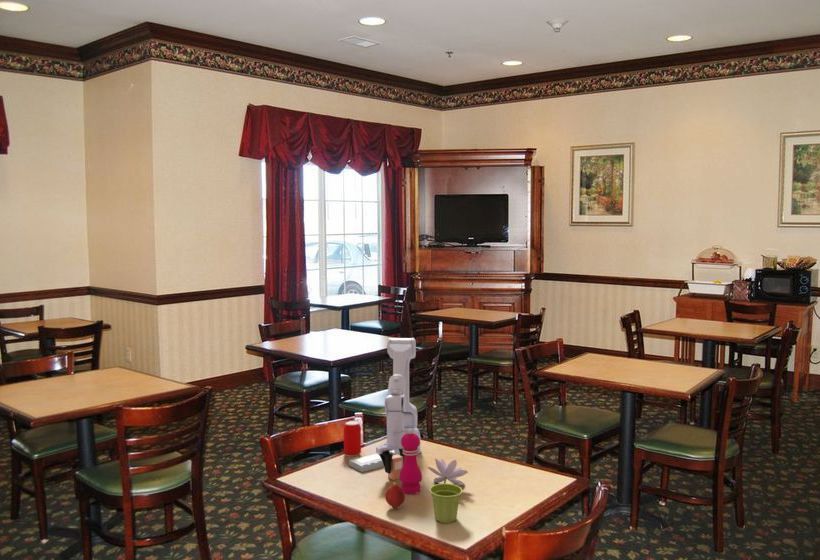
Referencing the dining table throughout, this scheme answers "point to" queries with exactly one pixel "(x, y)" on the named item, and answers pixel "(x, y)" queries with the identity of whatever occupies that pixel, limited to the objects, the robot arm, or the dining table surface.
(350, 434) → the beverage can
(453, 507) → the plant pot
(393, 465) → the stub tab
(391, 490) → the onion
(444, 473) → the water lily
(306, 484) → the dining table surface
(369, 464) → the pad
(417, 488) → the pepper mill
